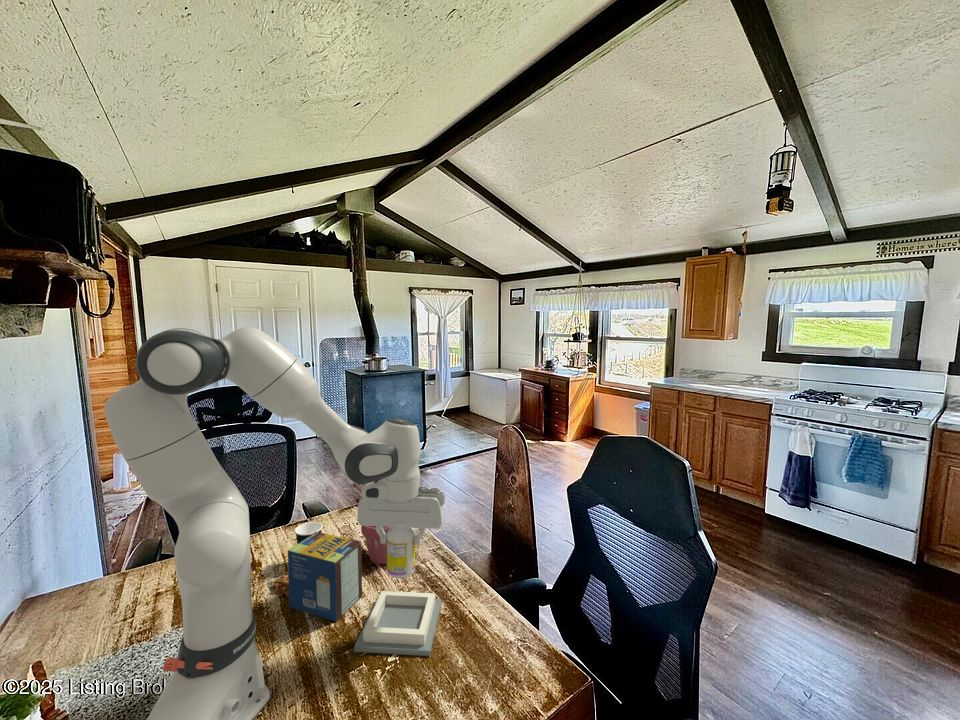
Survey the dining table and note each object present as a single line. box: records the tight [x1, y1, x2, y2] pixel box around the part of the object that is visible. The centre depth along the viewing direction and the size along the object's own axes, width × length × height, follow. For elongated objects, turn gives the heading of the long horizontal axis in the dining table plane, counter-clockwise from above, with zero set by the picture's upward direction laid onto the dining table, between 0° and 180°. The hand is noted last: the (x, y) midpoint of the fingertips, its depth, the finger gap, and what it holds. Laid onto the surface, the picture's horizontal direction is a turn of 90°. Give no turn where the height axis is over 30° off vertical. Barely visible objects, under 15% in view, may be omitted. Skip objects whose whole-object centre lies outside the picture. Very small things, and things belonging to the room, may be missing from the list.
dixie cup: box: [294, 521, 324, 544], centre depth 122 cm, size 8×8×11 cm
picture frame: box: [353, 590, 443, 657], centre depth 96 cm, size 17×17×4 cm
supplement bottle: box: [386, 523, 416, 579], centre depth 95 cm, size 7×7×13 cm
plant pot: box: [360, 525, 392, 565], centre depth 125 cm, size 14×14×13 cm
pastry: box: [266, 575, 289, 598], centre depth 110 cm, size 7×12×4 cm, turn 73°
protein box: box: [287, 532, 363, 622], centre depth 104 cm, size 10×15×16 cm
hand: (400, 543), depth 95 cm, fingers closed on supplement bottle, 7 cm apart
